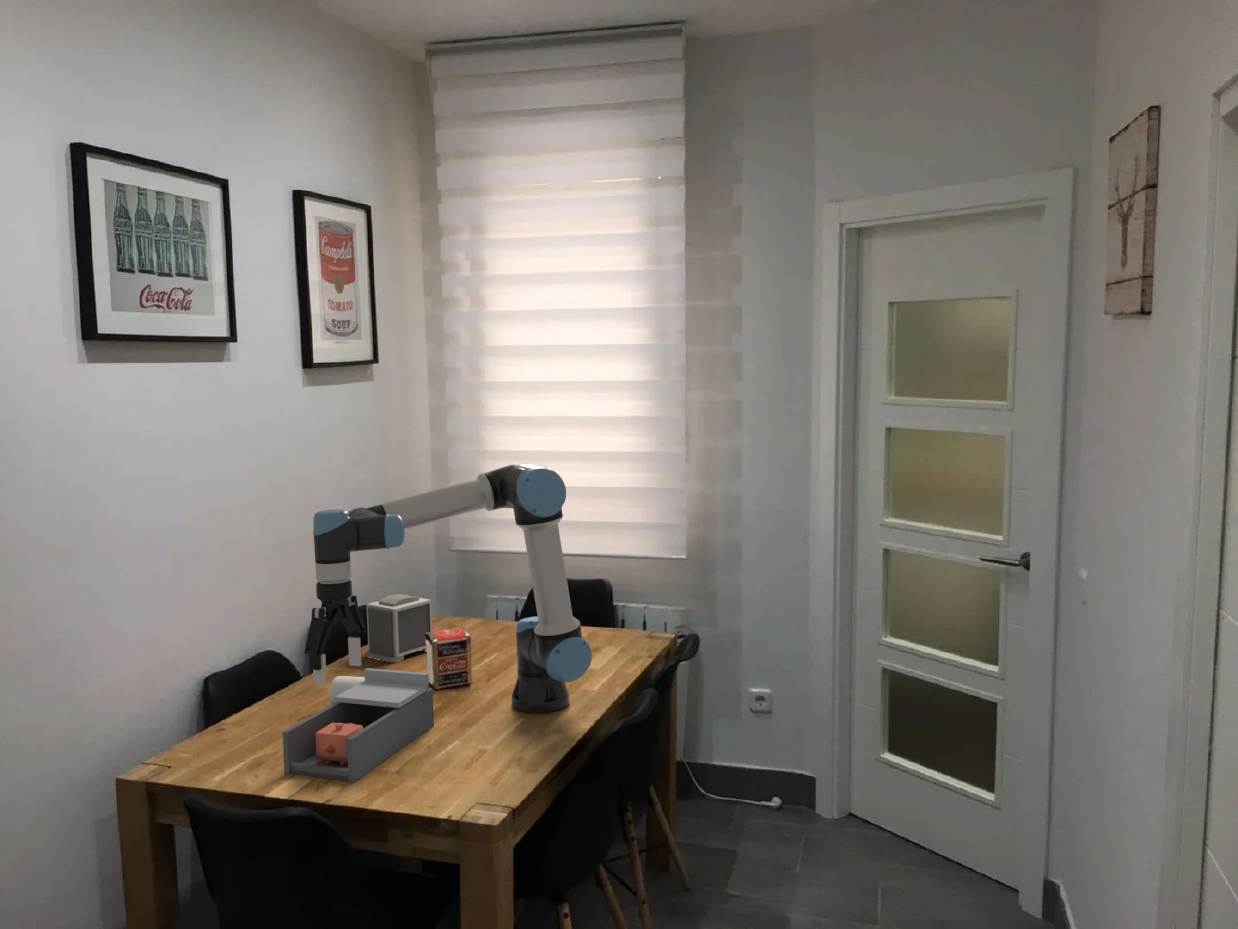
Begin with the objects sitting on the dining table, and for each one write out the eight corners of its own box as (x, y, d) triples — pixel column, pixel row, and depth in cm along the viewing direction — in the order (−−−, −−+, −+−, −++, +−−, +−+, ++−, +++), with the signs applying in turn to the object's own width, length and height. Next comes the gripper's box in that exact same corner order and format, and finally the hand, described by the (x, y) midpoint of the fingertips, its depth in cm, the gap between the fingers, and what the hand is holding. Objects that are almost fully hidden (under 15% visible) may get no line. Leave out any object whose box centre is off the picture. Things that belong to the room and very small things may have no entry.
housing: (434, 726, 239) (432, 688, 238) (353, 782, 206) (351, 739, 205) (372, 719, 245) (371, 683, 244) (284, 774, 211) (282, 731, 210)
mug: (365, 713, 250) (363, 683, 249) (329, 711, 252) (328, 681, 251) (385, 698, 261) (384, 669, 261) (351, 696, 263) (350, 667, 263)
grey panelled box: (409, 643, 316) (407, 588, 314) (437, 649, 308) (435, 593, 306) (364, 657, 301) (361, 599, 299) (392, 663, 293) (390, 604, 292)
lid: (428, 689, 237) (428, 673, 237) (399, 708, 224) (398, 691, 223) (367, 683, 242) (367, 668, 242) (335, 701, 229) (334, 685, 229)
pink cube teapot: (308, 769, 211) (306, 732, 210) (338, 749, 222) (337, 714, 222) (339, 773, 209) (338, 735, 208) (368, 752, 220) (367, 717, 220)
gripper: (350, 568, 226) (354, 657, 228) (283, 591, 202) (289, 690, 204) (378, 569, 224) (382, 659, 226) (314, 593, 200) (319, 693, 202)
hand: (338, 674), depth 215 cm, fingers open, 13 cm apart
